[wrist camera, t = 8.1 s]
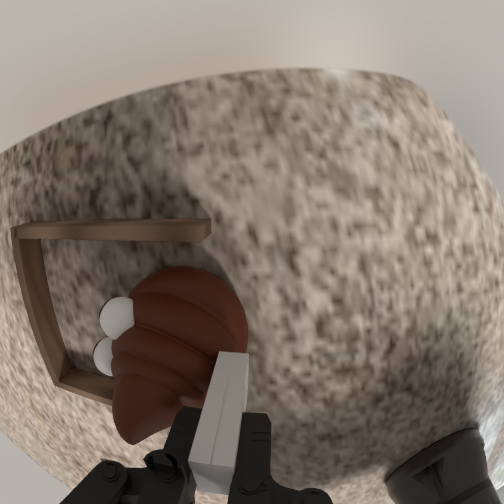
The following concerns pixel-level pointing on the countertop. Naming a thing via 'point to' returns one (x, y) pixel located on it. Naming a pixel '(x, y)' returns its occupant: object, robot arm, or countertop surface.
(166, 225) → the walnut corral
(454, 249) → the countertop surface
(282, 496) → the robot arm
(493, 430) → the countertop surface
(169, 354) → the poop emoji
